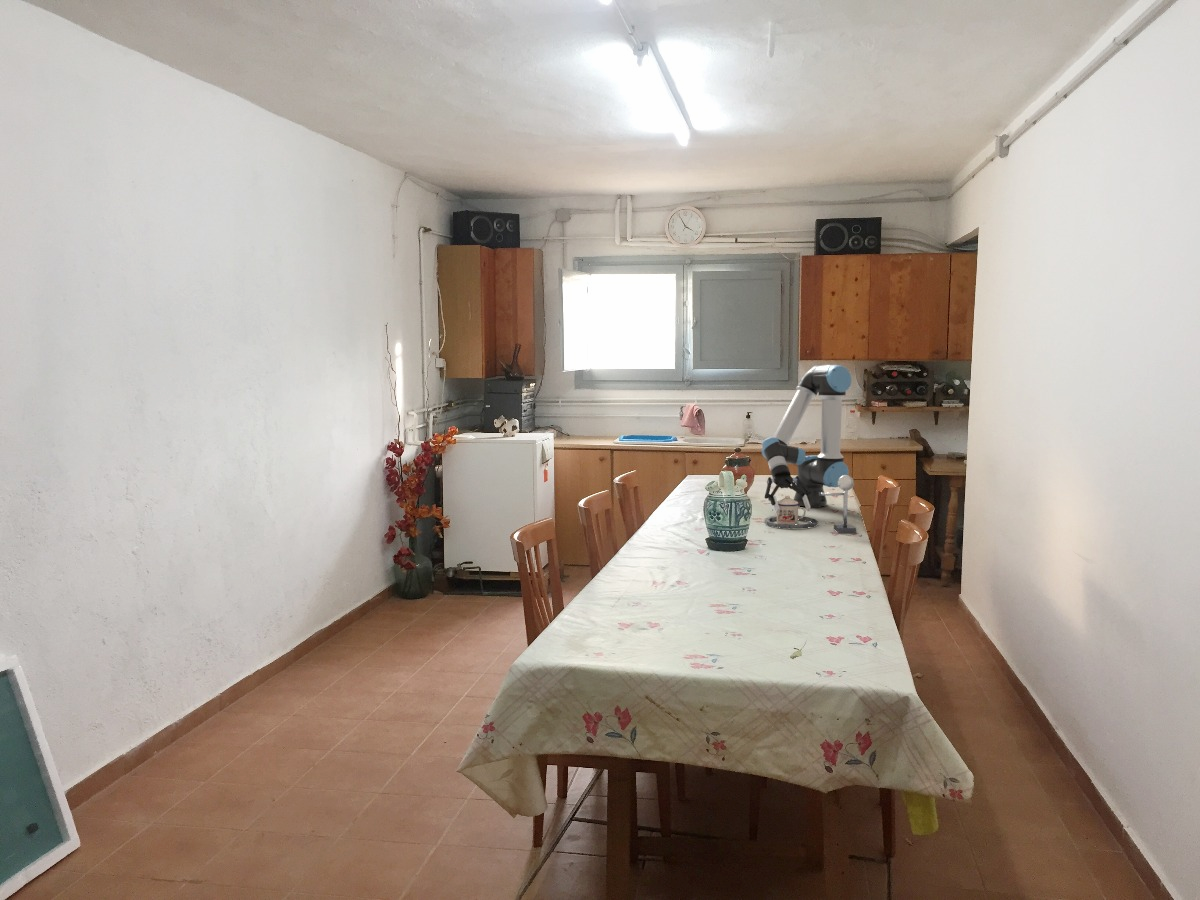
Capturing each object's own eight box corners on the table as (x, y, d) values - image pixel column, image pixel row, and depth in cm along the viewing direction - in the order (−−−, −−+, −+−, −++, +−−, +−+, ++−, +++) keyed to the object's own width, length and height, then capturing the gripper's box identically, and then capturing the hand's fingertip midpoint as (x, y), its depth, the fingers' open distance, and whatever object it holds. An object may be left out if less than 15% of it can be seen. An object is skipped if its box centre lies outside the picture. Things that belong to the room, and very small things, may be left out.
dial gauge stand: (851, 529, 361) (852, 473, 359) (856, 533, 354) (857, 476, 352) (816, 529, 361) (816, 474, 359) (820, 533, 354) (821, 476, 352)
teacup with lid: (775, 525, 371) (775, 497, 370) (777, 521, 380) (777, 493, 378) (804, 526, 368) (805, 498, 366) (806, 522, 376) (806, 494, 375)
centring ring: (810, 518, 384) (810, 515, 384) (822, 528, 363) (822, 525, 363) (761, 519, 384) (761, 515, 384) (770, 529, 363) (770, 525, 363)
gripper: (803, 473, 389) (818, 513, 376) (749, 475, 384) (762, 516, 371) (809, 462, 383) (824, 503, 371) (754, 465, 378) (767, 506, 365)
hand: (793, 510), depth 371 cm, fingers open, 13 cm apart
